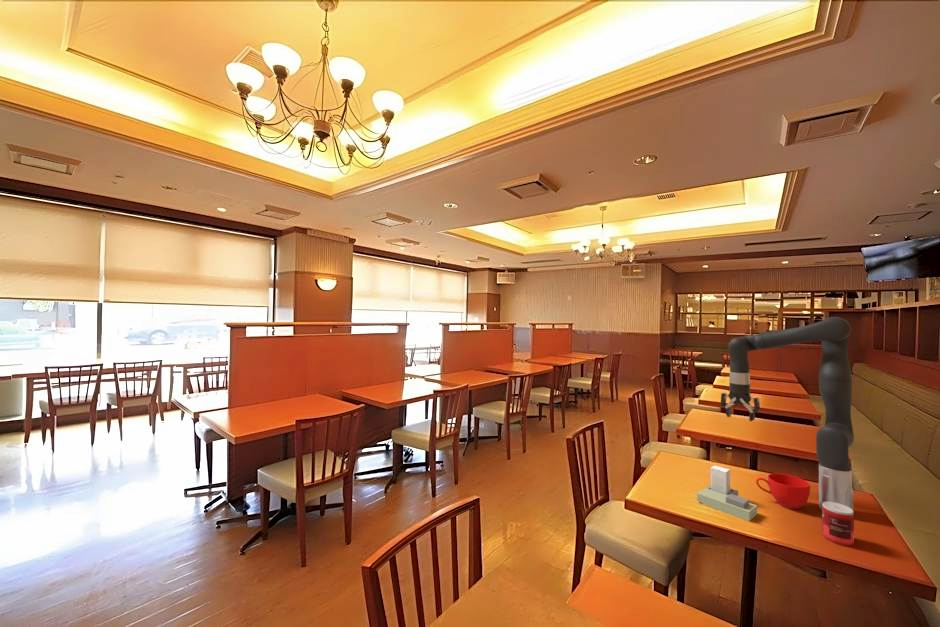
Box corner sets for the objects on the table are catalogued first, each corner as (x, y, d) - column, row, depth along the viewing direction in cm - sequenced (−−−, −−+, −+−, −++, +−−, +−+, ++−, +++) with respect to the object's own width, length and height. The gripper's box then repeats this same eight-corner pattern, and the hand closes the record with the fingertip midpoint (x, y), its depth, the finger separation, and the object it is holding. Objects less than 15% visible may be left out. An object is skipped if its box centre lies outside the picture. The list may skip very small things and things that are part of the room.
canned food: (836, 532, 134) (836, 501, 134) (861, 546, 126) (861, 513, 126) (815, 532, 133) (815, 501, 133) (838, 546, 125) (838, 513, 125)
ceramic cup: (754, 492, 164) (754, 468, 164) (805, 502, 155) (805, 477, 155) (758, 505, 153) (758, 480, 153) (814, 516, 144) (814, 490, 144)
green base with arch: (765, 507, 151) (765, 493, 151) (749, 521, 141) (749, 506, 141) (714, 489, 166) (714, 477, 166) (695, 501, 156) (695, 488, 156)
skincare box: (730, 498, 158) (730, 469, 158) (726, 501, 156) (726, 472, 156) (714, 492, 163) (714, 465, 163) (710, 495, 161) (710, 467, 161)
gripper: (762, 383, 165) (762, 421, 165) (724, 379, 177) (725, 414, 177) (755, 385, 161) (755, 424, 161) (718, 380, 172) (718, 416, 173)
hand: (739, 418), depth 169 cm, fingers open, 8 cm apart
